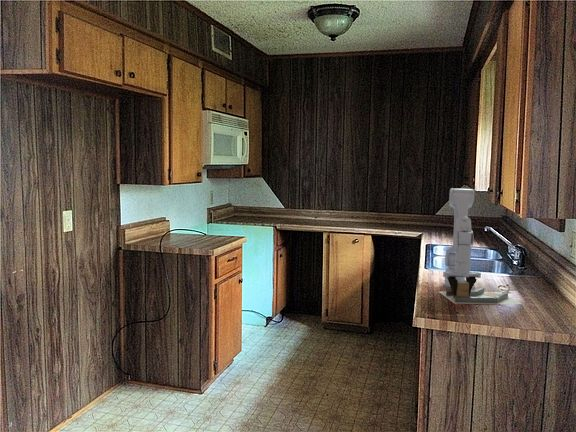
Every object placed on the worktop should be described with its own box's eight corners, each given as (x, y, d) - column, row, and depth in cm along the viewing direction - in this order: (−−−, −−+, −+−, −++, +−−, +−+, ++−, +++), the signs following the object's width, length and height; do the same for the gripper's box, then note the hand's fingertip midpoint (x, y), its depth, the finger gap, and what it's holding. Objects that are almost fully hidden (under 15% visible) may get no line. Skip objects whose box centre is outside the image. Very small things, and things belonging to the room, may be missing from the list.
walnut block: (452, 297, 202) (453, 280, 201) (463, 297, 202) (464, 280, 201) (456, 300, 197) (458, 283, 197) (468, 300, 198) (469, 283, 197)
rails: (441, 291, 210) (441, 287, 210) (499, 292, 211) (499, 287, 211) (455, 302, 194) (456, 297, 194) (518, 303, 195) (518, 298, 195)
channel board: (438, 292, 211) (438, 291, 211) (500, 293, 212) (501, 291, 212) (454, 304, 193) (454, 303, 193) (522, 305, 194) (522, 303, 194)
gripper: (448, 263, 194) (446, 297, 195) (485, 263, 194) (482, 298, 196) (442, 259, 201) (440, 292, 202) (477, 260, 201) (475, 293, 203)
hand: (460, 295), depth 200 cm, fingers open, 5 cm apart
